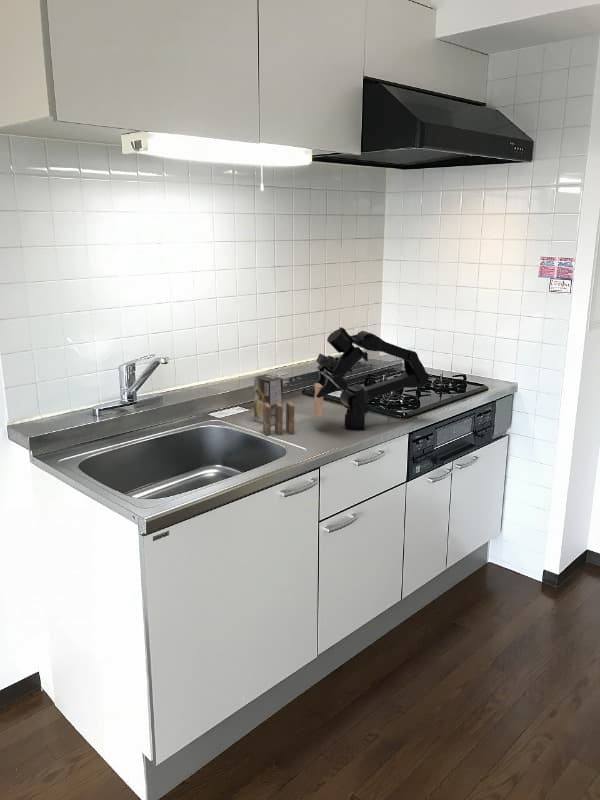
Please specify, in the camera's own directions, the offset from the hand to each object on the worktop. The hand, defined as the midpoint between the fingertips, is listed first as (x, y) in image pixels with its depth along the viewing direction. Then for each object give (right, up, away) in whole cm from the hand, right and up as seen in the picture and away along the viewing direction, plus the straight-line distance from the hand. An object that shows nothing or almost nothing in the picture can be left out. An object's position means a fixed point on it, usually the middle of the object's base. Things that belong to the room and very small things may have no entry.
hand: (315, 395), depth 222 cm
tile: (+1, -6, +2) cm, 7 cm away
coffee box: (-16, -9, +13) cm, 23 cm away
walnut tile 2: (-9, -13, +1) cm, 15 cm away
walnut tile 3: (-12, -13, 0) cm, 18 cm away
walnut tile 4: (-16, -13, -1) cm, 21 cm away
